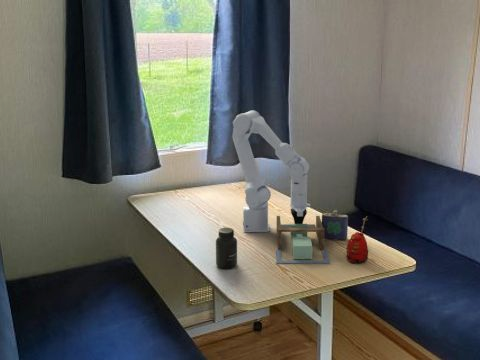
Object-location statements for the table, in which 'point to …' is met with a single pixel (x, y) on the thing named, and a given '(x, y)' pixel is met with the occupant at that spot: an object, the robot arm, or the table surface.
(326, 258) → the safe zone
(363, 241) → the red clay folk toy
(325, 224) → the flask
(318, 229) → the tunnel
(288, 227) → the mat
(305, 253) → the teal block
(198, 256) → the table surface
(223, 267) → the supplement bottle
